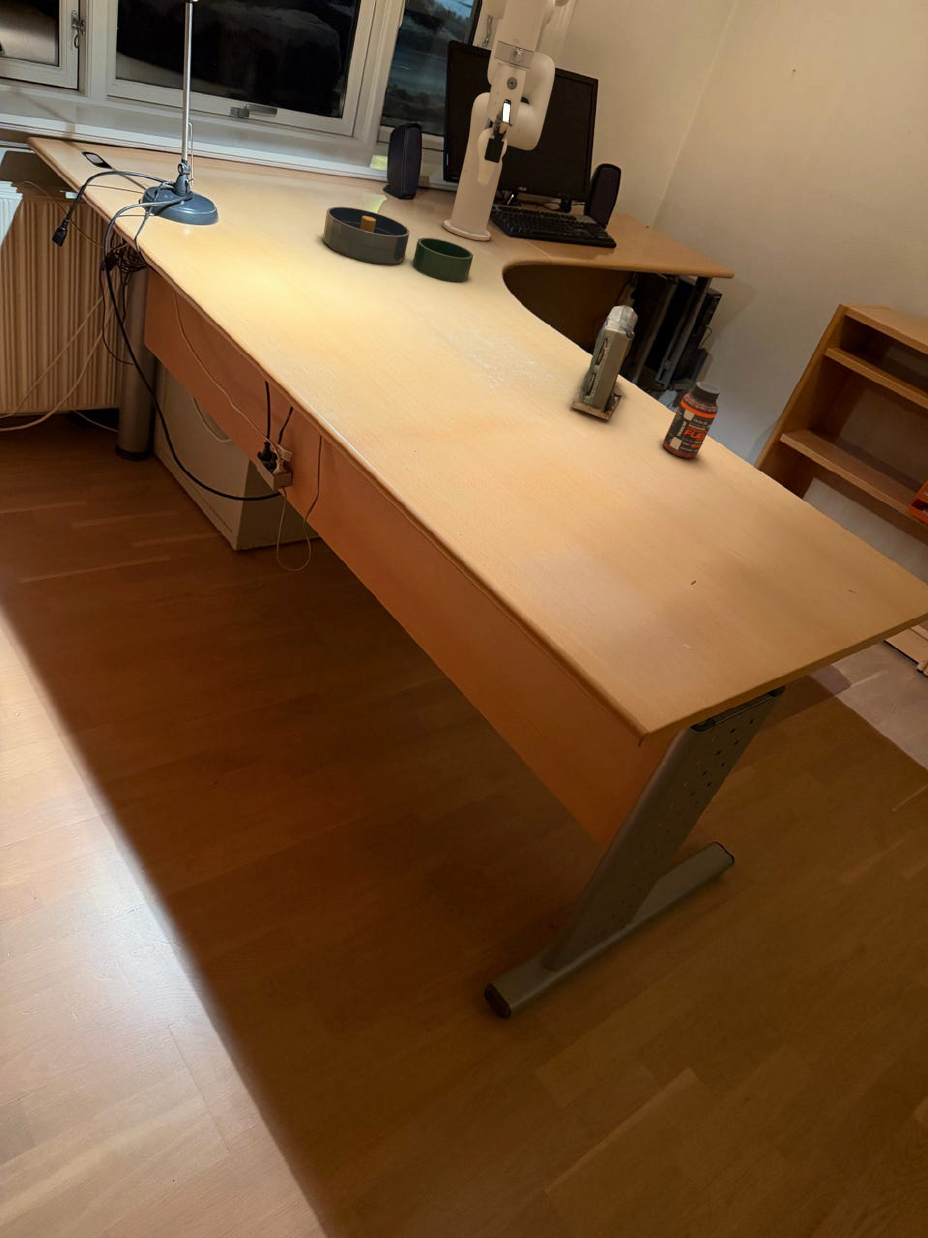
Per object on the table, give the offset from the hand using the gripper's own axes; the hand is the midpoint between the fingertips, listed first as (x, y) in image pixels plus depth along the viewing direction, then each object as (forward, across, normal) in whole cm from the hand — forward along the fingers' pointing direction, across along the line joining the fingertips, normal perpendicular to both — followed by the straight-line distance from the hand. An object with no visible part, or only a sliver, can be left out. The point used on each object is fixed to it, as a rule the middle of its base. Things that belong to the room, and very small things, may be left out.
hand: (489, 156), depth 173 cm
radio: (+24, -57, -17) cm, 64 cm away
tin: (+24, -3, +5) cm, 24 cm away
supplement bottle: (+24, -74, -28) cm, 83 cm away
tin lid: (+23, 0, +22) cm, 32 cm away
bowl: (+24, 0, +22) cm, 32 cm away
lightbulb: (+6, 0, 0) cm, 6 cm away
